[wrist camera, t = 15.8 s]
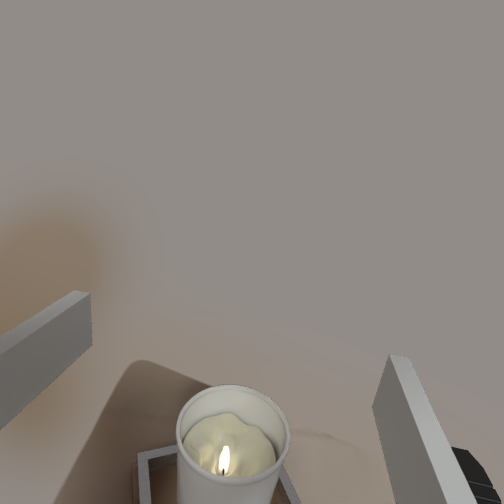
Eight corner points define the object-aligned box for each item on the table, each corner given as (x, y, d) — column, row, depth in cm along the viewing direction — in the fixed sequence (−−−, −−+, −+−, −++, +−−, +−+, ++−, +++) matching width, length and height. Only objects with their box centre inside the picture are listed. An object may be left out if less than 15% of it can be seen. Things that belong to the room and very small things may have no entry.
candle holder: (200, 455, 38) (210, 371, 34) (281, 493, 35) (301, 406, 31) (146, 546, 29) (150, 446, 25) (248, 606, 26) (270, 505, 22)
